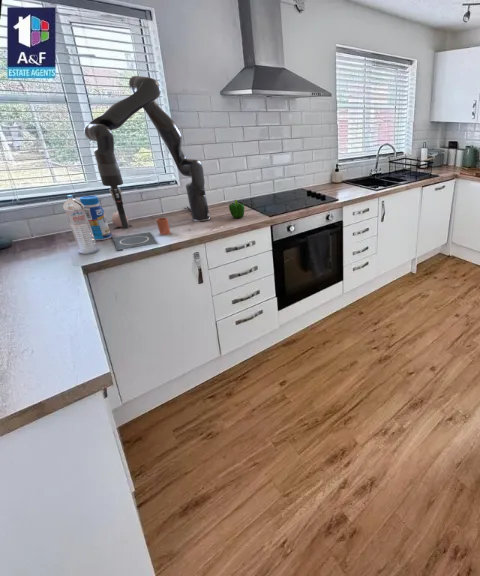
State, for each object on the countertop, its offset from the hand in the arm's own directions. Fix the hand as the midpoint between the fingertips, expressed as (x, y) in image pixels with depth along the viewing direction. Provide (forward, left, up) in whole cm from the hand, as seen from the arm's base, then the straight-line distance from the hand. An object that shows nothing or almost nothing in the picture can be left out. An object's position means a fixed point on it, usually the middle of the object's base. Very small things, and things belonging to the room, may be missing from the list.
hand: (121, 212), depth 168 cm
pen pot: (-6, +16, -15) cm, 23 cm away
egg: (-31, 0, -15) cm, 35 cm away
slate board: (-2, +2, -15) cm, 15 cm away
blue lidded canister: (-16, -10, -15) cm, 24 cm away
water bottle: (+2, -16, -15) cm, 22 cm away
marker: (0, 0, -8) cm, 8 cm away
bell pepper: (-17, +57, -11) cm, 60 cm away
